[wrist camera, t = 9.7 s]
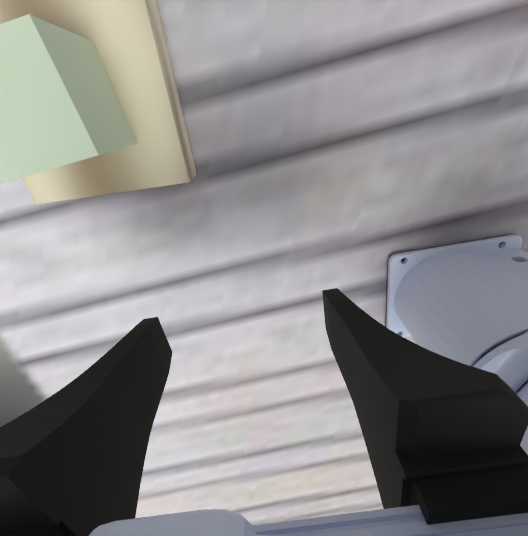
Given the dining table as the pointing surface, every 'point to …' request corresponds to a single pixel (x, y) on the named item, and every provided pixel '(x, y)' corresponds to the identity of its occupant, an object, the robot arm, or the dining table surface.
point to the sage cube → (54, 100)
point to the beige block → (129, 95)
